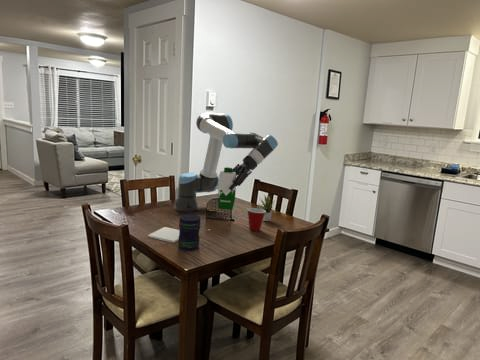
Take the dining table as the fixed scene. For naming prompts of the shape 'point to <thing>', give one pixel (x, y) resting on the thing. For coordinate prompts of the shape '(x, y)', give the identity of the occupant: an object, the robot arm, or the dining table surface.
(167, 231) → the plate
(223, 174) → the soya milk
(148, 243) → the dining table surface
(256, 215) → the plastic cup
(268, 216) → the house plant
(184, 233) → the storage jar
